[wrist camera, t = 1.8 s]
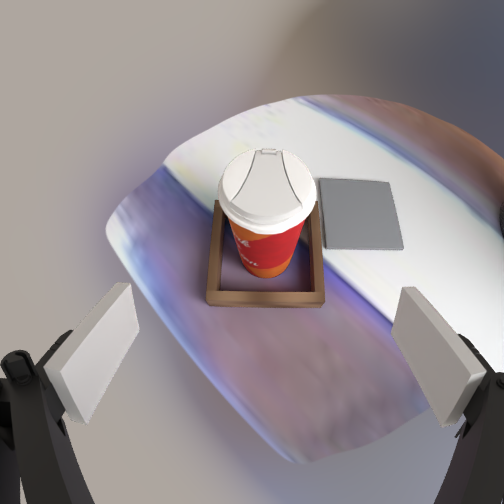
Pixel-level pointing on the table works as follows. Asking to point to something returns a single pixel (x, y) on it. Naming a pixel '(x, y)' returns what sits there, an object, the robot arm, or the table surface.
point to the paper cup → (266, 207)
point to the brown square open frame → (265, 298)
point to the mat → (359, 215)
